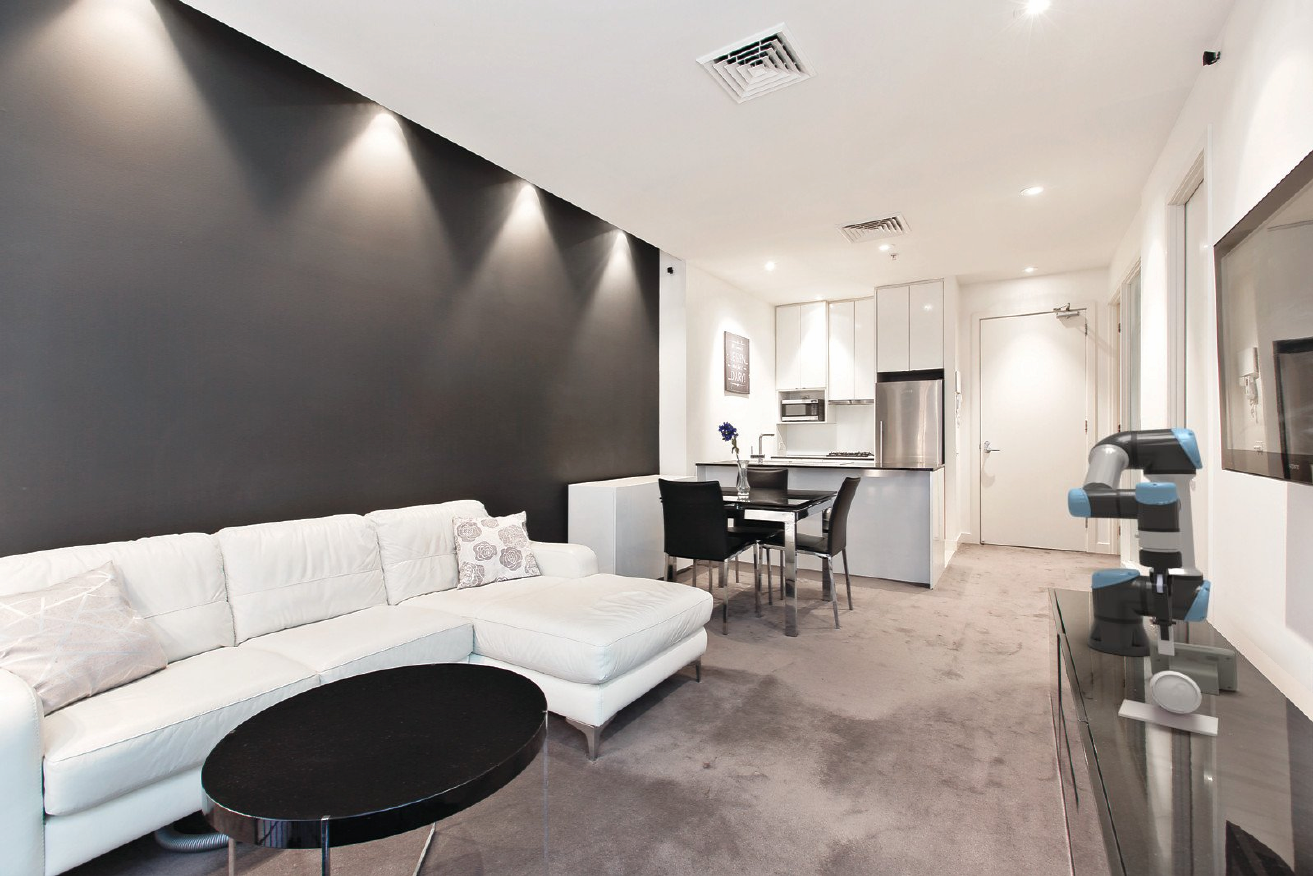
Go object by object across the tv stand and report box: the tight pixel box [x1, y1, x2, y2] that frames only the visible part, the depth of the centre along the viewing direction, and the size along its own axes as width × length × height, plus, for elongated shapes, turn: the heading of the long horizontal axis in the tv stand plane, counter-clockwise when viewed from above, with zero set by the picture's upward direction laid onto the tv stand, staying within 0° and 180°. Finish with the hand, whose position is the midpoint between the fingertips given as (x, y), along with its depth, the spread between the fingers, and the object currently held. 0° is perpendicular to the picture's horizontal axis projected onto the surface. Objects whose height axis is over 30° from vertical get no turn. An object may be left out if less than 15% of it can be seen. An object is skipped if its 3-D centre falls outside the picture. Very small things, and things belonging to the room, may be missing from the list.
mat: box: [1117, 698, 1219, 738], centre depth 130 cm, size 10×16×1 cm, turn 46°
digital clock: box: [1149, 639, 1238, 696], centre depth 147 cm, size 16×9×11 cm, turn 38°
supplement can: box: [1148, 671, 1203, 714], centre depth 129 cm, size 8×8×15 cm
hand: (1166, 653), depth 136 cm, fingers closed
